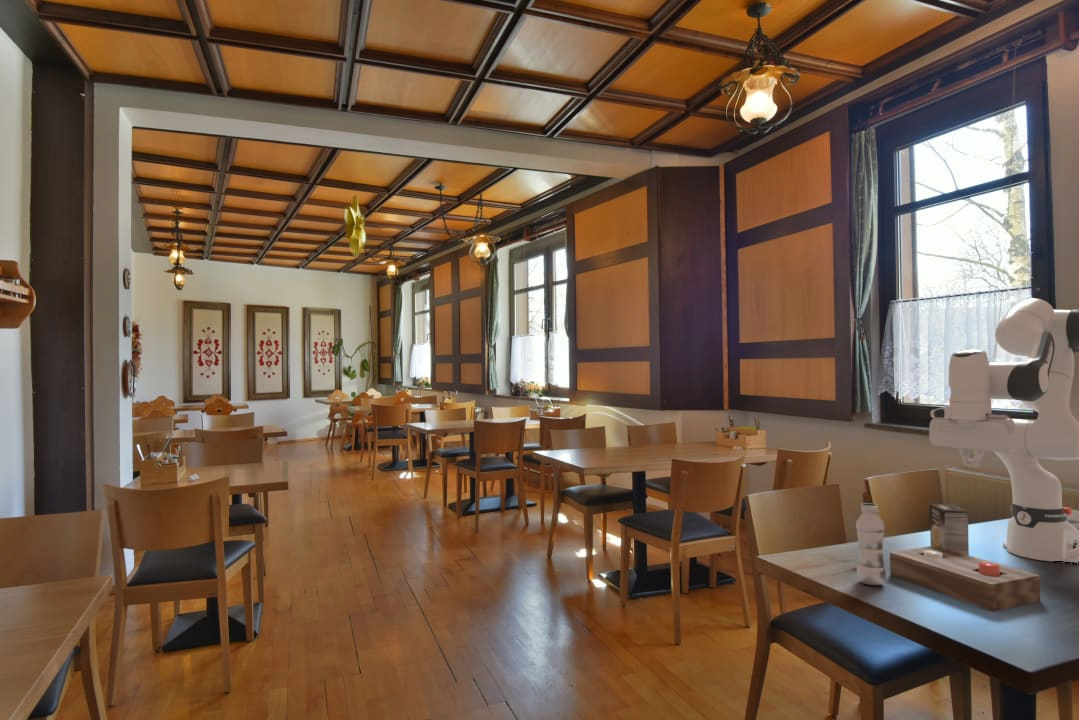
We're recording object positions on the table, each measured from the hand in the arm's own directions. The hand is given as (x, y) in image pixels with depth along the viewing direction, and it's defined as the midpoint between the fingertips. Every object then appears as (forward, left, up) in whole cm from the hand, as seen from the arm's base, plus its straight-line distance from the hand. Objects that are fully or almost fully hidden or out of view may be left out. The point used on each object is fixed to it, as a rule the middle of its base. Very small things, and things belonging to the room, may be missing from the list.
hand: (971, 466), depth 155 cm
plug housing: (+8, +2, -29) cm, 30 cm away
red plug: (+8, +9, -28) cm, 30 cm away
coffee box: (-6, -11, -29) cm, 32 cm away
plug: (+8, -5, -29) cm, 30 cm away
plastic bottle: (+26, -8, -29) cm, 40 cm away
